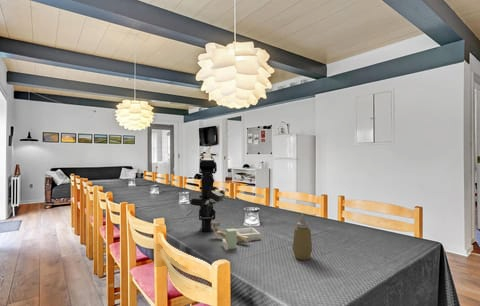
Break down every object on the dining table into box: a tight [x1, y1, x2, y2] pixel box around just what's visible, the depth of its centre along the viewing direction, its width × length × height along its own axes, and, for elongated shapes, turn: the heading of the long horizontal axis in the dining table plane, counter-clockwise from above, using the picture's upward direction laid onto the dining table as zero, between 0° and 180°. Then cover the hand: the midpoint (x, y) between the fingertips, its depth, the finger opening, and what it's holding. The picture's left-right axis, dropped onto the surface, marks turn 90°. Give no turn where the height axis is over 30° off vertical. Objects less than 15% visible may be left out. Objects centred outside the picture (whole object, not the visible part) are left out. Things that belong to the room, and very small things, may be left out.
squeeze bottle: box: [292, 213, 313, 261], centre depth 114 cm, size 8×8×18 cm
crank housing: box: [221, 237, 240, 251], centre depth 130 cm, size 14×10×3 cm
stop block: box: [225, 227, 237, 250], centre depth 125 cm, size 4×4×8 cm
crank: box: [211, 220, 250, 243], centre depth 134 cm, size 22×3×6 cm, turn 59°
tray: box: [234, 227, 262, 243], centre depth 140 cm, size 11×11×3 cm
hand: (207, 217), depth 132 cm, fingers closed
